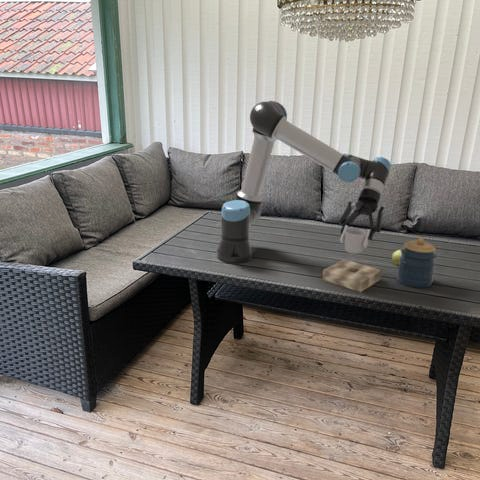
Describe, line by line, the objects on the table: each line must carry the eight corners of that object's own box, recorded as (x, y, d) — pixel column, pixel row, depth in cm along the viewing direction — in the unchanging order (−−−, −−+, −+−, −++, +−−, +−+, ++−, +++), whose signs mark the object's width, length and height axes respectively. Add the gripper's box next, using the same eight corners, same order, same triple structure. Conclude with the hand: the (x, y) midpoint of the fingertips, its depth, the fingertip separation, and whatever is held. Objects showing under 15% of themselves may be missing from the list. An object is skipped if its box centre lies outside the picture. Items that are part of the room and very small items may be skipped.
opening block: (322, 279, 173) (323, 269, 172) (343, 268, 185) (344, 259, 184) (360, 292, 163) (361, 282, 162) (380, 279, 175) (381, 270, 174)
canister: (439, 286, 170) (447, 242, 165) (410, 290, 167) (417, 244, 161) (417, 273, 182) (424, 231, 176) (389, 276, 178) (395, 233, 173)
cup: (351, 244, 177) (354, 225, 174) (371, 249, 172) (373, 229, 169) (338, 251, 169) (341, 231, 166) (358, 257, 164) (361, 236, 161)
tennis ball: (404, 252, 185) (411, 249, 190) (388, 250, 190) (396, 247, 195) (404, 267, 187) (411, 263, 192) (388, 265, 192) (396, 261, 196)
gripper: (399, 202, 172) (382, 254, 164) (346, 195, 183) (328, 243, 175) (397, 191, 166) (380, 244, 158) (343, 184, 177) (324, 233, 169)
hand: (352, 244), depth 167 cm, fingers closed on cup, 8 cm apart
